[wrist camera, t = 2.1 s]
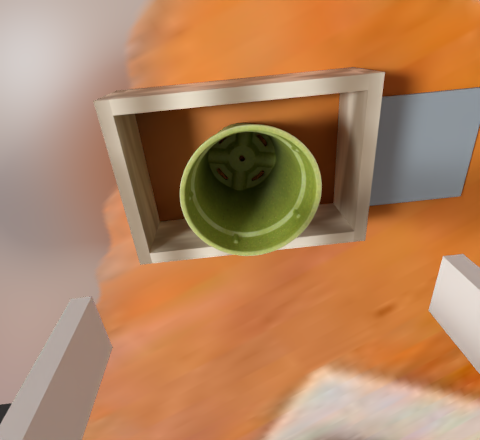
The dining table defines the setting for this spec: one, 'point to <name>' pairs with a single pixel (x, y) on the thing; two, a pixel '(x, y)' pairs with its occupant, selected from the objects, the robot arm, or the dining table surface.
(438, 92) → the mat
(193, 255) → the frame
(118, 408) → the dining table surface
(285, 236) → the plant pot
